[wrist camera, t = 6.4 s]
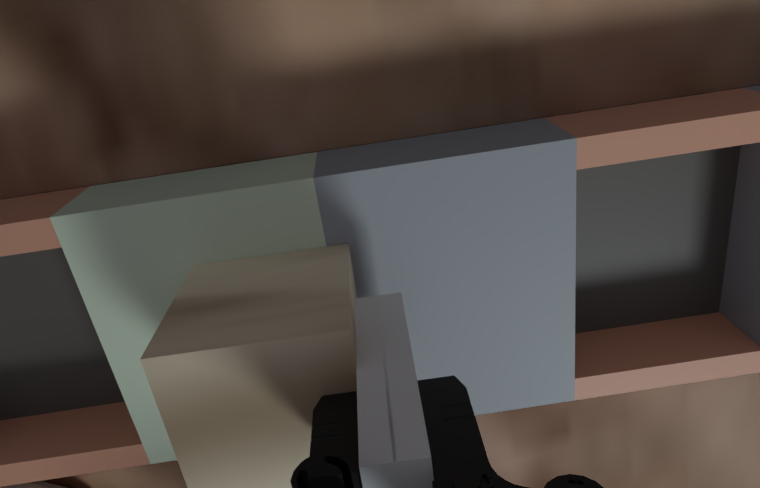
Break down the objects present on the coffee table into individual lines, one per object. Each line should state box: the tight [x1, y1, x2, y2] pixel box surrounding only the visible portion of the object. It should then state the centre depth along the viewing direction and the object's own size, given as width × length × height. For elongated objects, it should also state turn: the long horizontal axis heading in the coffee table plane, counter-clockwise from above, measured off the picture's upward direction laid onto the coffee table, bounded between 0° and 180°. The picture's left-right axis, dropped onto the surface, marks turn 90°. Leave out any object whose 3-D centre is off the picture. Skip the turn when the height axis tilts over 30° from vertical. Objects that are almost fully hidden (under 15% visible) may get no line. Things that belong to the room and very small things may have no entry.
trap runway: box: [0, 85, 760, 487], centre depth 20 cm, size 10×34×3 cm, turn 98°
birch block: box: [140, 244, 358, 488], centre depth 17 cm, size 5×5×5 cm
